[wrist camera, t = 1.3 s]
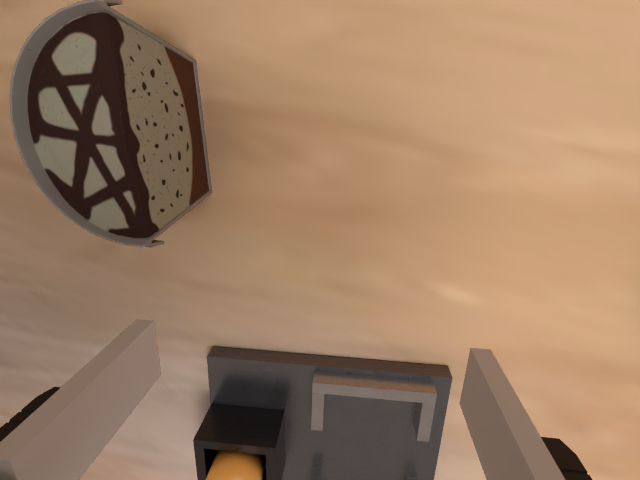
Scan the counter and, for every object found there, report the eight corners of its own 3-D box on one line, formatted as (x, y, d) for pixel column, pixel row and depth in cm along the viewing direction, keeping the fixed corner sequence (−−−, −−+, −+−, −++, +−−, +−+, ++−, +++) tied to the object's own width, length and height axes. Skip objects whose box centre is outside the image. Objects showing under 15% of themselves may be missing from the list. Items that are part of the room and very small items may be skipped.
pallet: (223, 481, 38) (203, 538, 33) (213, 346, 33) (186, 389, 27) (423, 503, 36) (435, 567, 31) (447, 365, 31) (466, 415, 26)
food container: (109, 40, 25) (-40, -7, 16) (193, 36, 24) (91, -16, 15) (141, 210, 29) (38, 255, 20) (214, 210, 28) (144, 256, 19)
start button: (218, 474, 32) (205, 508, 29) (215, 437, 31) (201, 469, 28) (266, 479, 32) (257, 515, 29) (265, 442, 30) (256, 475, 28)
